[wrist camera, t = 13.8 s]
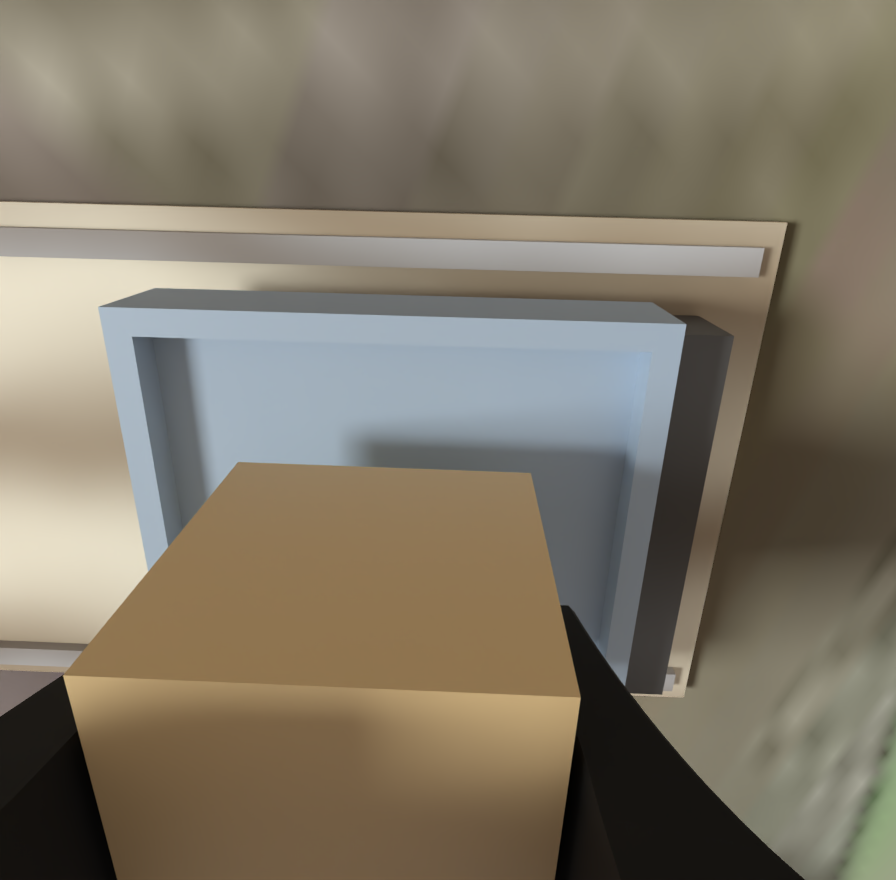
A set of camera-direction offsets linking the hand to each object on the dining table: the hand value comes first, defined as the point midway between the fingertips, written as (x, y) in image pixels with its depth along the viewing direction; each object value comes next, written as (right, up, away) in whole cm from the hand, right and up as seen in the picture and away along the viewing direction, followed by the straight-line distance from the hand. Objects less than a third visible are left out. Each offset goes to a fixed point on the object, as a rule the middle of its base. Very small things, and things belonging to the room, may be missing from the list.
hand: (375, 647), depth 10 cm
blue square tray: (0, +2, +5) cm, 6 cm away
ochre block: (0, +1, +1) cm, 2 cm away
